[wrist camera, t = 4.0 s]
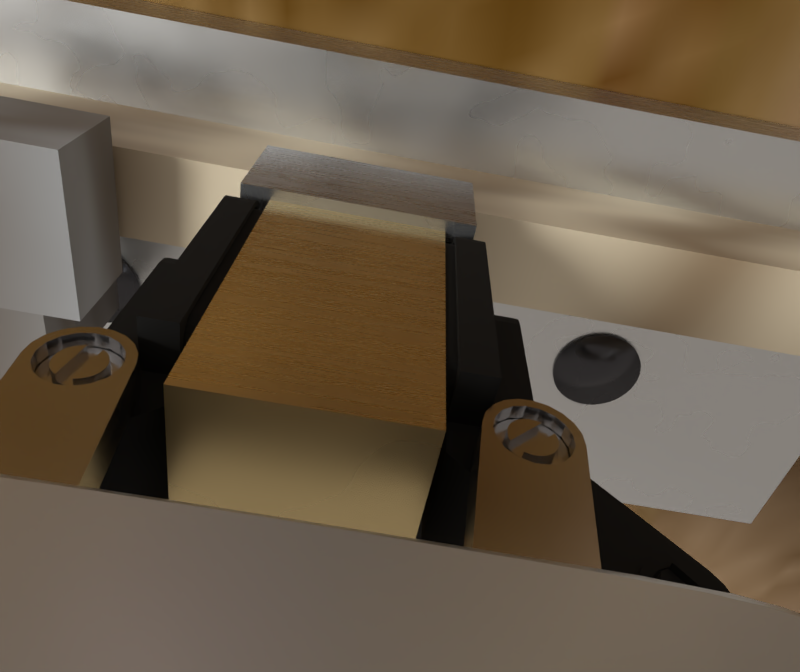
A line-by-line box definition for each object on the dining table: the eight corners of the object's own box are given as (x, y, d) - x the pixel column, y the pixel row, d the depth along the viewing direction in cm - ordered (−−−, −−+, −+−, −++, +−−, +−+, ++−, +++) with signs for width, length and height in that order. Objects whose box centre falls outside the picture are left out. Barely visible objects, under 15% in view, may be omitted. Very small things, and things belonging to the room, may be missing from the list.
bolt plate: (955, 157, 16) (1000, 181, 15) (733, 489, 23) (751, 526, 21) (-215, -69, 15) (-280, -66, 13) (-83, 354, 21) (-118, 384, 20)
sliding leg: (468, 145, 15) (497, 424, 7) (417, 367, 18) (397, 716, 10) (291, 112, 14) (113, 360, 7) (273, 342, 18) (145, 679, 10)
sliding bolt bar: (900, 220, 15) (1059, 332, 11) (772, 417, 19) (859, 555, 15) (-87, 34, 14) (-290, 86, 10) (-30, 280, 18) (-165, 389, 14)
